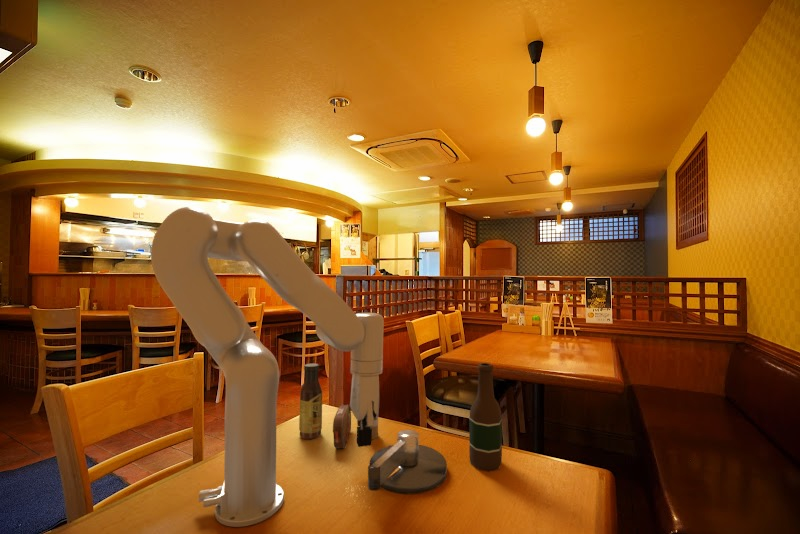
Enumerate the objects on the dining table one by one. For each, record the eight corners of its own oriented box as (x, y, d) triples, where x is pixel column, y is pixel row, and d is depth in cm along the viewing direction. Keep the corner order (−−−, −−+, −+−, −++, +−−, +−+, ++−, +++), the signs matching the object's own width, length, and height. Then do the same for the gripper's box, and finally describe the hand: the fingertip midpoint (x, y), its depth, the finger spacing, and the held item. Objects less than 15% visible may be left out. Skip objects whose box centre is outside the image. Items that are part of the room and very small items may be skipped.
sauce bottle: (316, 441, 99) (316, 368, 99) (295, 439, 100) (295, 367, 100) (325, 431, 105) (326, 362, 105) (305, 429, 106) (306, 361, 107)
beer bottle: (489, 476, 82) (489, 370, 82) (462, 462, 88) (462, 363, 88) (508, 464, 87) (508, 364, 87) (481, 452, 93) (481, 358, 93)
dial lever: (403, 452, 88) (403, 428, 88) (422, 457, 85) (422, 432, 85) (360, 494, 71) (360, 464, 71) (381, 502, 69) (382, 470, 69)
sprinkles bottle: (365, 441, 99) (365, 391, 99) (360, 434, 103) (360, 386, 103) (380, 438, 101) (381, 389, 101) (375, 431, 105) (375, 385, 105)
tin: (343, 454, 92) (343, 421, 92) (331, 454, 92) (331, 421, 92) (352, 428, 107) (352, 400, 107) (341, 428, 107) (341, 400, 107)
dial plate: (381, 501, 73) (381, 490, 73) (361, 458, 90) (361, 449, 90) (460, 484, 79) (460, 474, 79) (428, 446, 96) (428, 438, 96)
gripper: (345, 359, 91) (342, 433, 90) (357, 375, 77) (354, 462, 76) (374, 358, 93) (371, 429, 93) (391, 373, 79) (388, 458, 78)
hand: (363, 444), depth 84 cm, fingers closed
